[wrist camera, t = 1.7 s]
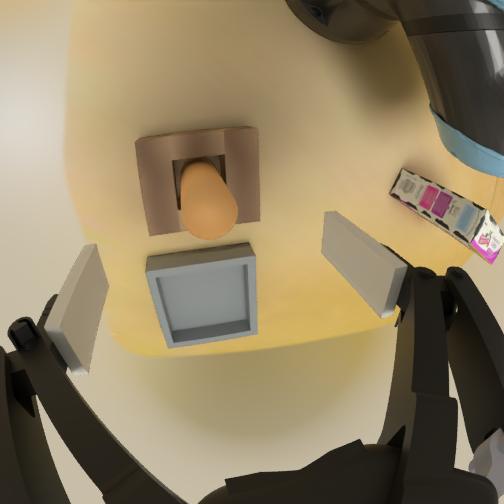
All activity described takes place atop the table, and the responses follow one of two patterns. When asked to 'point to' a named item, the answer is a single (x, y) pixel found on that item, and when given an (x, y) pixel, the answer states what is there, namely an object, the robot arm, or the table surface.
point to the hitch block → (190, 146)
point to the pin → (206, 200)
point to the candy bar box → (450, 214)
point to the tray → (204, 294)
